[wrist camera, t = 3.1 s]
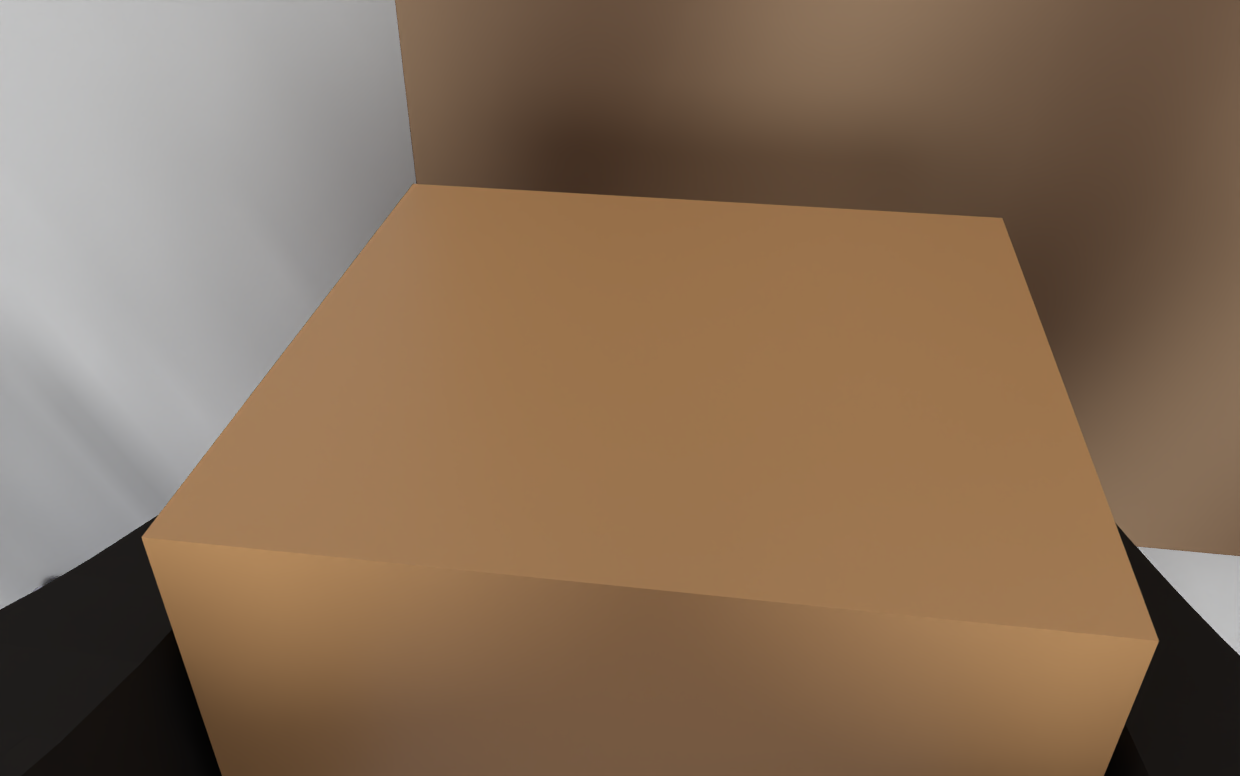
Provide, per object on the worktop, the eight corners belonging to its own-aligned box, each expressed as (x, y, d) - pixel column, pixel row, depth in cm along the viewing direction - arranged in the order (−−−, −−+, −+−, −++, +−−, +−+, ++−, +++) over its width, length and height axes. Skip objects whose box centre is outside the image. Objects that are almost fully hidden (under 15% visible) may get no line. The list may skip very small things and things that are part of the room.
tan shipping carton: (460, 595, 13) (302, 1018, 9) (412, 183, 10) (140, 536, 6) (909, 641, 12) (962, 1120, 8) (1002, 217, 9) (1159, 639, 5)
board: (471, 437, 18) (451, 481, 17) (350, -762, 10) (300, -810, 9) (1509, 529, 16) (1556, 585, 15) (2384, -868, 8) (2609, -945, 7)
